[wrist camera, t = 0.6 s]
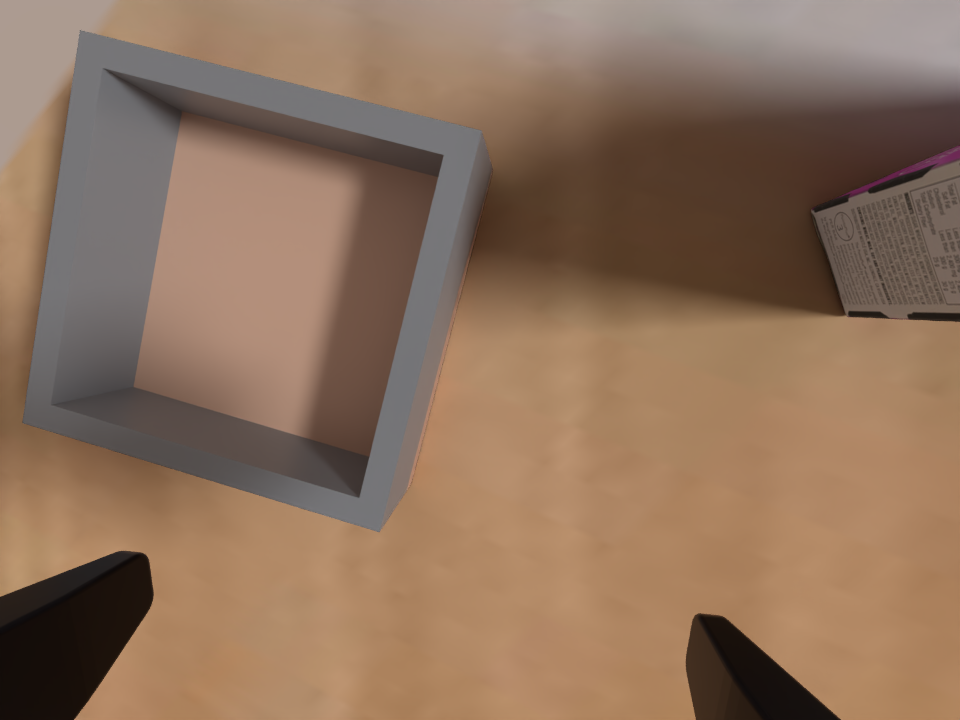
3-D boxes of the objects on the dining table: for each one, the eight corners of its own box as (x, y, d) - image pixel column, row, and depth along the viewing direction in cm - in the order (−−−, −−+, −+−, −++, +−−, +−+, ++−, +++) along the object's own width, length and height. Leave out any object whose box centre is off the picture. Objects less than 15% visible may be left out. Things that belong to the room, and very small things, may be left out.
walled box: (411, 482, 23) (379, 532, 18) (126, 397, 24) (22, 422, 19) (493, 170, 21) (481, 130, 16) (180, 90, 22) (80, 30, 17)
